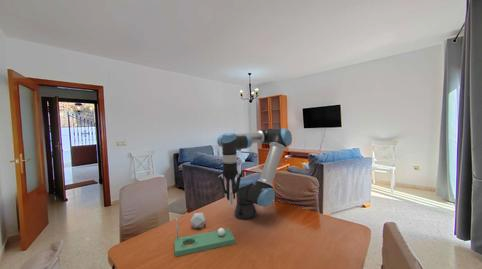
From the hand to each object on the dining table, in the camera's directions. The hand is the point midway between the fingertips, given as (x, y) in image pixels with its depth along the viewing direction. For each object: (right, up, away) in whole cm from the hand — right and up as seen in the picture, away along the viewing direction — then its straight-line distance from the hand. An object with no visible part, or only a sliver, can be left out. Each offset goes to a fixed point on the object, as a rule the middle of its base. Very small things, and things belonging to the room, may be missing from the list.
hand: (231, 205), depth 113 cm
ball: (-5, -14, -1) cm, 15 cm away
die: (-21, -18, +14) cm, 31 cm away
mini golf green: (-14, -19, -3) cm, 24 cm away
